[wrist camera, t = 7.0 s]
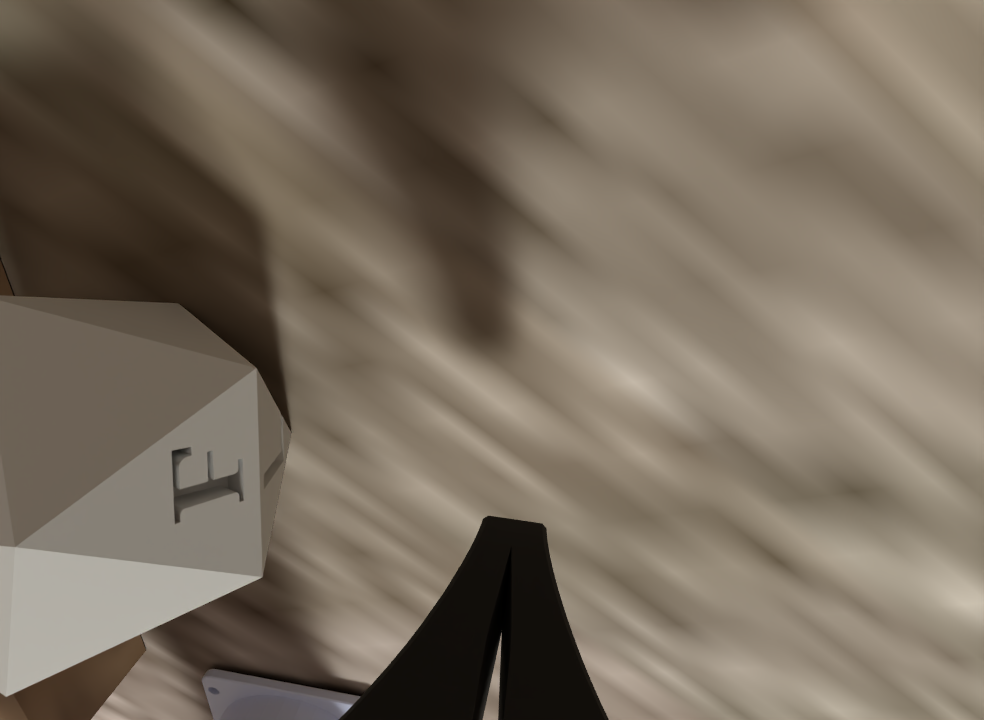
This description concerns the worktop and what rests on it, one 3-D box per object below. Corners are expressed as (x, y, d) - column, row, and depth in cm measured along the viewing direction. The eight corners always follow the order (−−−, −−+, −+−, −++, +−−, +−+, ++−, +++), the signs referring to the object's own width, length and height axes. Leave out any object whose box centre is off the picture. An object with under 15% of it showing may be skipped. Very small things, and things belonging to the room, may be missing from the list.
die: (291, 525, 19) (306, 706, 10) (-9, 568, 15) (-386, 902, 7) (286, 307, 18) (297, 296, 9) (-28, 301, 15) (-478, 277, 6)
